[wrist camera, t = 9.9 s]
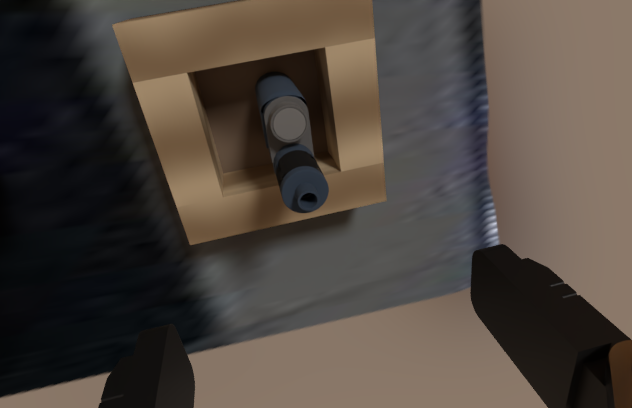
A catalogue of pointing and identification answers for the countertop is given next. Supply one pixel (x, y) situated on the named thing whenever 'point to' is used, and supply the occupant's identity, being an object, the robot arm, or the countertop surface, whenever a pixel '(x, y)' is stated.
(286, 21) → the block
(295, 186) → the vaping device
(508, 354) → the robot arm
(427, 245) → the countertop surface
